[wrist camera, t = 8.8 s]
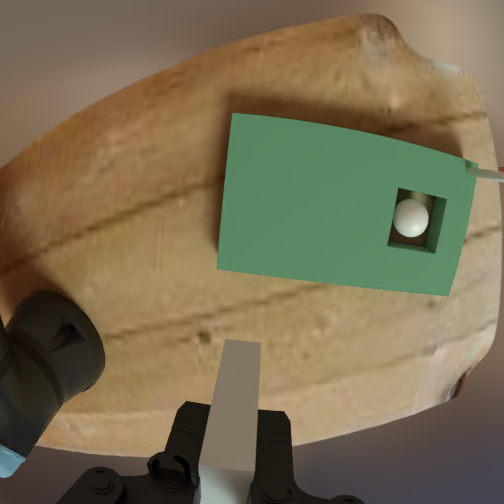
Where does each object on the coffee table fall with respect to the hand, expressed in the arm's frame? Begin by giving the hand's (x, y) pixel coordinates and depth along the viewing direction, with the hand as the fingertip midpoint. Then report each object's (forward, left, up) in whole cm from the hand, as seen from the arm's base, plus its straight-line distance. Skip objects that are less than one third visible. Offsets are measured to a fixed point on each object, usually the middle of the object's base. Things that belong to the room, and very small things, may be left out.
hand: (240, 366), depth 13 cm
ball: (+14, +5, -17) cm, 22 cm away
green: (+8, +5, -18) cm, 21 cm away
